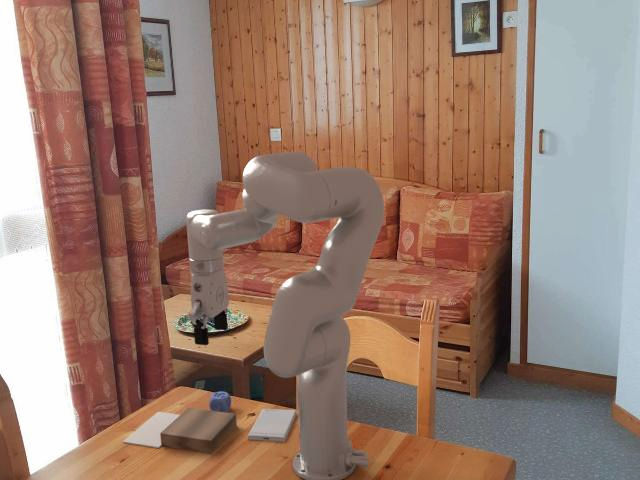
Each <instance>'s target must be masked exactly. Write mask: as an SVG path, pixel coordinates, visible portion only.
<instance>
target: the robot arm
mask: <svg viewBox="0 0 640 480" xmlns="http://www.w3.org/2000/svg"><path fill="white" fill-rule="evenodd" d="M242 186H243V191H242V196H241V197H242V198H241V199H242V204H243V206H244V208H243V209H239V210H231V211H227V212H226V211H225V212H222V213H220V212H218V210H216V209H198V210H197V209H196V210H192V211H189V212H188V213H187V215H186V220H185V221H186V222H185V223H186V233H187V247H188V261H189V272H190V274H191V280H190V301H191V309H190V311H189V313H188V317H189V321H190V324H191V325H192V329H193V333H194V336H193V337H194V344H195V345H199V346H208V345H209V342H210V341H209V340H210V339H209V329H208V327H207V323H208V320H209V319H213V323H214V330H218V331H219V330H220V331H227V330H228V329H229V328H228V327H229V326H228V314H227V313H228V307H229V306H230V305H229V304H230V297H229V290H228V282H227V275H226V272H225V268H224V267H225V265H224V263H225V262H224V250H225V249H229V248H233V247H237V246H242V245H246V244H251V243H254V242H255V241H258V240H259V239H261V238H263V237H264V236H266V235H267V234H269V232H271V231H273V230H274V229H275V227H276V226H277V224H278V222H279V217H280V215H281V216H283V217H285V218H288V219H289V220H290V219H291V220H292V221H295V222H297V223H303V224H312V223H313V224H314V223H317V222H323V221H327V220H331V219H336V218H338V220H337V222H336V224H335V225H334V227H333V228H332V229H331V230H330V232H329V233H328V235H327V237H326V238H325V241H324V243H323V244H322V248H321V251H320V252H321V253H320V255H319V259H318V262H317V264H316V265H315V266H314V267H313V268H312V269H311V270H309V271H306V272H302V273H299V274H298V273H297V274H296V275H293V276H291V277H289V278H287V279H286V280H285V281H284V282H283V283H282V284H281V285H280V286H279V288H278V290H276V294H275V296H274V299H273V304H272V306H271V307H272V308H271V311H270V314H269V319H268V323H267V327H266V331H265V333H264V334H265V335H264V341H263V355H264V356H263V357H264V360H265V362H266V363H265V364H266V366H267V367H268V368H269V370H270V371H271V373H273V374H274V375H275V376H277V377H280V378H283V379H284V378H286V379H289V378H290V379H291V378H294V377H297V387H296V388H297V413H298V416H297V417H298V432H299V434H298V436H299V451H298V452H297V453H295V455H294V457H293V459H292V469H293V471H294V473H295V474H296V475H297V476H298V477H300V478H302V479H303V480H343V479H345V478H347V477H349V476H350V475H351V474H352V473H354V471H355V469H356V466H358V467H362V468H369V465H370V457H369V456H366V455H367V453H366V452H367V451H366V450H363V449H359V450H358V449H355V448H354V447H353V441H352V440H350V439H349V438H348V405H347V403H348V402H347V392H348V391H347V370H348V360H349V353H350V348H351V331H350V328H349V324H348V323H347V321H346V320H345V319H344V317H343V316H344V315H346V314H348V313H349V312H350V311H352V309H353V308H354V306H355V304H356V302H357V299H358V296H359V293H360V290H361V287H362V283H363V281H364V277H365V274H366V271H367V268H368V264H369V261H370V257H371V254H372V251H373V249H374V247H375V244H376V242H377V239H378V237H379V234H380V233H381V229H382V226H383V221H384V217H385V202H384V196H383V192H382V189H381V186H380V185H379V183H378V181H377V180H376V178H375V177H374V176H373V175H372V174H371V173H370V172H368V171H367V170H366V169H363V168H360V167H355V166H354V167H353V166H339V167H335V168H327V169H321V170H318V165H317V164H316V162H315V160H313V158H312V157H311V156H309V155H308V154H305V153H303V152H299V151H285V152H279V153H278V152H277V153H276V152H275V153H269V154H268V153H267V154H262V155H261V154H260V155H258V156H255V157H254V158H252V159H251V160H250V161H248V163H247V165H246V166H245V168H244V169H243V172H242ZM201 319H202V321H201ZM348 439H349V440H348Z"/></svg>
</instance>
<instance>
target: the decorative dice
mask: <svg viewBox="0 0 640 480" xmlns="http://www.w3.org/2000/svg"><path fill="white" fill-rule="evenodd" d="M208 403H209V406H208V407H209V410H210V411H218V412H225V413H229V411H230V409H231V406H232V397H231V395H230V393H228V392H226V391H217V392H214V393H212V394H211V396H210V399H209V402H208Z"/></svg>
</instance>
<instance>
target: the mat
mask: <svg viewBox="0 0 640 480" xmlns="http://www.w3.org/2000/svg"><path fill="white" fill-rule="evenodd" d="M180 415H181V414H177V413H170V412H163V411H157V412H156V413H154V414H153V415H152V416H151V417H150V418H149V419H147V421H145V422H144V423H143V424H141V425H140V426H139V427H138V428H137V429H135V430H134V431H133V432H132V433H131V434H129V435H128V436H127V437H126V438H125V439H123V440H122V444H123V443H124V444H130V445H135V446H140V447H141V446H142V447H147V448H153V449H160V448H161V447H162V446H161V436H160V433H161V432H162V431H163V430H164V429H165V428H167V427H168V426H169V425H170V424H171V423H172V422H173V421H174V420H175V419H177V418H178V417H179V416H180Z"/></svg>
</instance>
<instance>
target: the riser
mask: <svg viewBox="0 0 640 480" xmlns="http://www.w3.org/2000/svg"><path fill="white" fill-rule="evenodd" d="M179 415H180V416H179V417H178V418H177V419H175V420H174V421H173V422H172V423H171V424H170V425H169V426H168V427H167V428H165V429H164V430H163V431H162V432H161V433H160V436H161V447H165V448H172V449H178V450H185V451H192V452H198V453H203V454H204V453H205V454H210V455H212V454H213V453H214V452H215V451H216V450H217V449H218V447H219V446H220V445H221V444H222V443H223V442H224V441H225V440H226V439H227V438H228V437H229V436H230V434H232V432H233V431H234V430H235V429H236V428H237V426H238V424H237V423H238V422H237V414H236V413H232V412H231V413H230V412H227V413H225V412H218V411H211V410H210V409H209V410H208V409H202V408H193V407H187V408H186V409H185V410H184V411H183V412H182V413H181V414H179Z"/></svg>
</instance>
